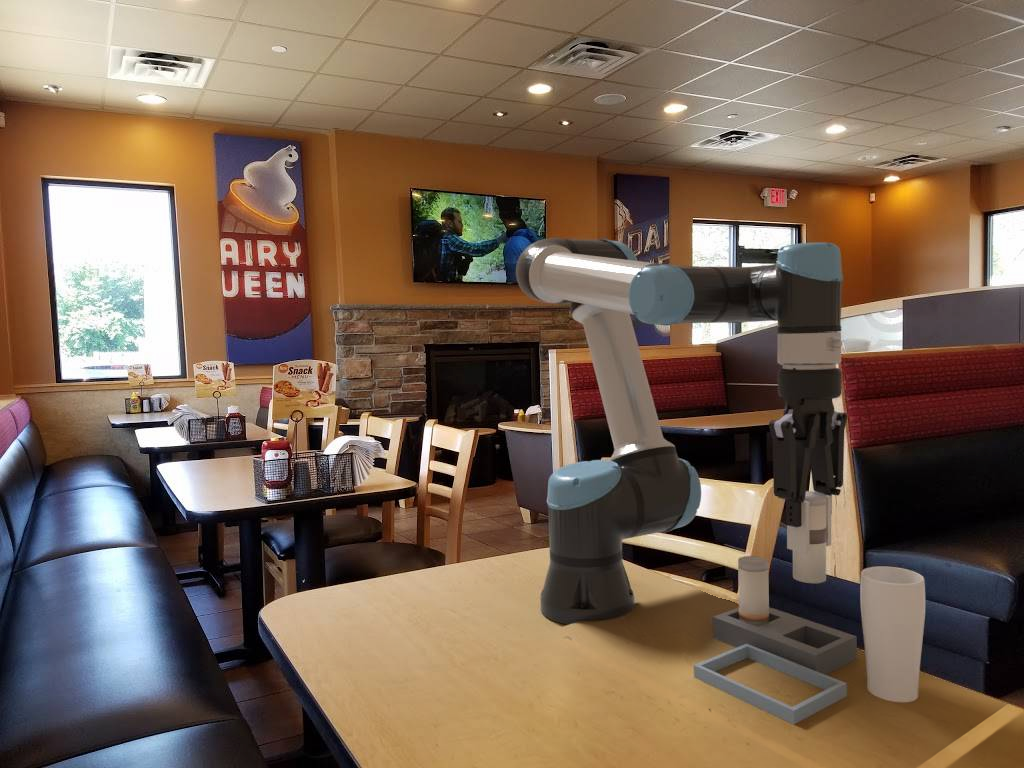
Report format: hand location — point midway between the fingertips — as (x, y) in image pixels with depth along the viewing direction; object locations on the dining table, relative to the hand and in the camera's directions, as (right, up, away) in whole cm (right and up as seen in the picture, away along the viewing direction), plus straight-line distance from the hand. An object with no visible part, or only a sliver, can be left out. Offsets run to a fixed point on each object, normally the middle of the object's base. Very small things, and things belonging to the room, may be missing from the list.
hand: (809, 546), depth 95 cm
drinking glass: (+7, -16, -8) cm, 20 cm away
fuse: (-4, -15, +8) cm, 17 cm away
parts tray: (-7, -17, -6) cm, 19 cm away
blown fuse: (0, -4, 0) cm, 4 cm away
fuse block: (-2, -16, +5) cm, 16 cm away
